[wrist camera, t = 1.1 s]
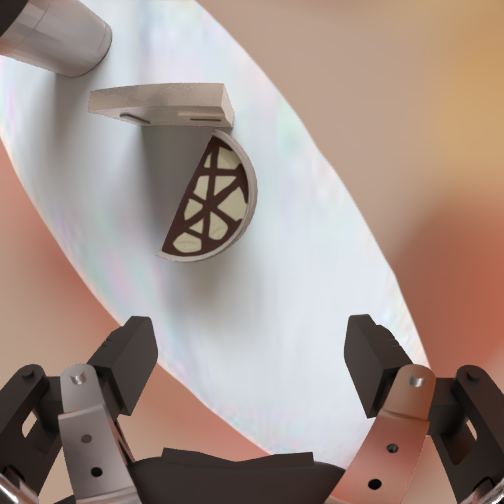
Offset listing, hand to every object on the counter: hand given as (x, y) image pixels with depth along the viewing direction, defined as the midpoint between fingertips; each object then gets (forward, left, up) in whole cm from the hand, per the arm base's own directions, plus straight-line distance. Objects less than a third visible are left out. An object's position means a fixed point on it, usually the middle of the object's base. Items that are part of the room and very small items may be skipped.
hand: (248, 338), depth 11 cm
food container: (-3, +3, -23) cm, 23 cm away
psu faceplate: (-9, +11, -23) cm, 27 cm away
